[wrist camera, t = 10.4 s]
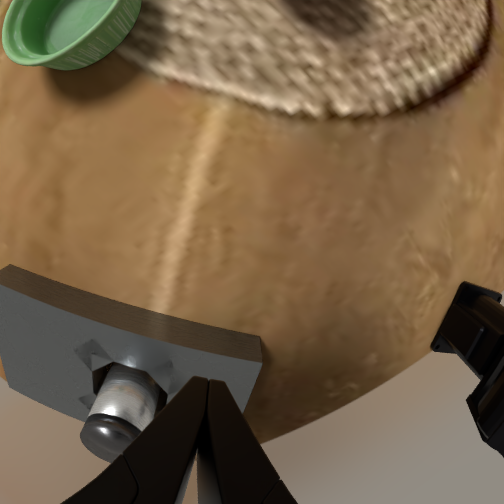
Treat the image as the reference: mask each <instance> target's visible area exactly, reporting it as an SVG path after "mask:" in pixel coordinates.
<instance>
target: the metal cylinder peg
mask: <svg viewBox="0 0 504 504" xmlns="http://www.w3.org/2000/svg"><path fill="white" fill-rule="evenodd" d="M160 390H161V386H160V385H159V384H158V383H157V382H156V381H155V380H154V379H153V378H152V377H151V376H150V375H149V374H148V373H147V371H143V370H140V369H136V368H133V367H130V366H126V365H123V364H120V363H117V362H113V364H112V366H111V368H110V370H109V372H108V374H107V376H106V379H105V381H104V383H103V385H102V387H101V389H100V391H99V393H98V395H97V398H96V400H95V402H94V404H93V406H92V408H91V411H90V413H89V415H88V417H87V420H86V422H85V424H84V427H83V429H82V431H81V433H80V438H81V441H82V443H83V444H84V446H85V447H86V448H87V449H88V450H89V451H90V452H92V453H93V454H95V455H96V456H97V457H99V458H101V459H103V460H105V461H107V462H110V463H112V462H113V461H114V460H115V459H116V458H117V457H118V456H119V455H120V454H122V452H123V451H124V450H125V449H126V448H127V447H128V446H129V445H130V443H131V442H132V441H133V440H134V439H135V438H136V437H137V436H138V435H139V434H140V433H141V432H142V431H143V430H144V429H145V428H146V426H147V425H148V424H149V423H150V422H151V421H152V420H153V417H154V413H155V409H156V405H157V402H158V398H159V394H160Z"/></svg>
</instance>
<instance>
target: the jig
mask: <svg viewBox="0 0 504 504" xmlns="http://www.w3.org/2000/svg"><path fill="white" fill-rule="evenodd" d="M0 356H1V360H2V364H3V367H4V371H5V375H6V378H7V382H8V385H9V387H10V388H12V389H14V390H16V391H17V392H19V393H21V394H23V395H25V396H27V397H29V398H31V399H33V400H35V401H37V402H39V403H41V404H43V405H45V406H48V407H50V408H52V409H54V410H57V411H59V412H61V413H63V414H66V415H68V416H71V417H73V418H76V419H78V420H81V421H83V422H86V420H87V417H88V415H89V413H90V411H91V408H92V406H93V404H94V402H95V400H96V398H97V395H98V393H99V391H100V389H101V387H102V385H103V383H104V381H105V379H106V376H107V374H108V371H107V370H106V365H107V364H109V363H111V362H113V361H114V362H117V363H120V364H123V365H126V366H130V367H133V368H136V369H140V370H143V371H147V373H148V374H149V375H150V376H151V377H152V378H153V379H154V380H155V381H156V382H157V383H158V384H159V385H160V386H161V388H162V389H163V390H164V391H161V392H160V394H159V398H158V402H157V405H156V409H155V413H154V417H153V419H154V418H155V417H156V416H157V415H158V413H159V412H160V411H161V410H162V409H163V408H164V407H165V406H166V405H167V404H168V403H169V401H170V400H171V399H172V398H173V397H174V396H175V395H176V394H177V393H178V391H179V390H180V389H181V388H182V387H183V386H184V385H185V384H186V383H187V381H188V380H189V379H190V378H191V377H192V376H200V377H205V378H207V379H208V381H209V380H210V379H215V380H221V381H224V382H225V383H226V384H227V386H228V388H229V390H230V392H231V394H232V396H233V397H234V399H235V401H236V403H237V405H238V407H239V409H240V410H241V412H242V414H243V412H244V409H245V407H246V404H247V402H248V399H249V397H250V395H251V392H252V390H253V387H254V385H255V382H256V379H257V377H258V374H259V372H260V369H261V367H262V364H263V360H262V353H261V345H260V337H259V336H255V335H250V334H245V333H240V332H235V331H231V330H226V329H222V328H217V327H213V326H209V325H204V324H200V323H196V322H192V321H188V320H184V319H180V318H176V317H172V316H168V315H164V314H161V313H157V312H153V311H149V310H146V309H142V308H139V307H135V306H132V305H128V304H125V303H121V302H118V301H115V300H111V299H108V298H105V297H102V296H98V295H95V294H92V293H89V292H86V291H83V290H80V289H77V288H74V287H71V286H68V285H65V284H62V283H59V282H56V281H54V280H51V279H48V278H45V277H42V276H40V275H37V274H34V273H32V272H29V271H26V270H24V269H21V268H19V267H16V266H13V265H11V264H9V265H8V266H6V267H5V268H3V269H1V270H0ZM196 453H197V452H196Z"/></svg>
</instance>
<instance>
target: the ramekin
mask: <svg viewBox="0 0 504 504" xmlns="http://www.w3.org/2000/svg"><path fill="white" fill-rule="evenodd" d="M141 2H142V0H13V1H12V3H11V5H10V7H9V9H8V11H7V14H6V17H5V20H4V24H3V30H2V43H3V48H4V50H5V53H6V54H7V56H8V57H9V58H10V59H11V60H12V61H13V62H15V63H17V64H20V65H24V66H44V67H49V68H53V69H58V70H75V69H80V68H83V67H86V66H88V65H91V64H93V63H95V62H97V61H98V60H100V59H102V58H103V57H105V56H106V55H107V54H109V53H110V52H111V51H112V50H113V49H115V48H116V47H117V46H118V45H119V44H120V43H121V42H122V41H123V40H124V38H125V37H126V36H127V35H128V33H129V32H130V30H131V29H132V28H133V26H134V24H135V22H136V20H137V17H138V15H139V12H140V8H141Z"/></svg>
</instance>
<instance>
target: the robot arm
mask: <svg viewBox="0 0 504 504" xmlns="http://www.w3.org/2000/svg"><path fill="white" fill-rule="evenodd" d="M501 299H502V295H501V294H500V293H499V292H496V291H493V290H490V289H487V288H484V287H481V286H478V285H475V284H472V283H469V282H466V281H464V282H463V283H462V284H461V285H460V287H459V290H458V292H457V294H456V296H455V299H454V301H453V303H452V305H451V307H450V309H449V311H448V313H447V316H446V318H445V320H444V322H443V324H442V326H441V327H440V329H439V331H438V333H437V335H436V337H435V339H434V341H433V343H432V344H431V349H432V350H433V351H434V352H442V353H455V354H457V355H458V356H459V357H460V358H461V359H462V360H463V361H464V362H465V364H466V365H467V366H468V367H469V368H470V369H471V370H472V371H473V372H474V373H475V375H476V376H477V377H478V378H479V379H480V380H481V381H480V382H479V384H478V385H477V387H476V388H475V390H474V391H473V392H472V394H470V395H469V396H468V398H467V399H466V402H467V404H468V407H469V409H470V412H471V414H472V416H473V418H474V421H475V423H476V426H477V428H478V430H479V433H480V436H481V438H482V440H483V441H484V442H485V443H487V444H488V445H489V446H490V447H492V448H493V449H495V450H497V451H498V452H499V453H500V454H501V455H502V456H503V457H504V306H502V305H501V304H500V302H501ZM196 452H197V487H198V504H298V503H297V502H296V500H295V499H294V498H293V496H292V495H291V493H290V492H289V491H288V489H287V487H286V486H285V484H284V483H283V481H282V480H279V479H280V477H279V475H278V473H277V472H276V470H275V468H274V467H273V465H272V464H271V462H270V460H269V459H268V457H267V455H266V454H265V452H264V450H263V449H262V447H261V445H260V444H259V442H258V440H257V439H256V437H255V435H254V433H253V432H252V430H251V428H250V426H249V425H248V423H247V421H246V419H245V418H244V416H243V414H242V412H241V410H240V409H239V407H238V405H237V403H236V401H235V399H234V397H233V396H232V394H231V392H230V390H229V388H228V386H227V384H226V383H225V382H224V381H221V380H215V379H210V380H209V381H208V379H207V378H205V377H200V376H192V377H191V378H190V379H189V380H188V381H187V383H186V384H185V385H184V386H183V387H182V388H181V389H180V390H179V391H178V393H177V394H176V395H175V396H174V397H173V398H172V399H171V400H170V401H169V403H168V404H167V405H166V406H165V407H164V408H163V409H162V410H161V411H160V412H159V413H158V415H157V416H156V417H155V418H154V419H153V420H152V421H151V422H150V423H149V424H148V425H147V426H146V428H145V429H144V430H143V431H142V432H141V433H140V434H139V435H138V436H137V437H136V438H135V439H134V440H133V441H132V442H131V443H130V445H129V446H128V447H127V448H126V449H125V450H124V451H123V452H122V454H120V455H119V456H118V457H117V458H116V459H115V460H114V461H113V462H112V463H111V464H110V465H109V466H108V467H107V468H106V469H105V470H104V471H103V472H102V473H101V474H99V475H98V476H97V477H96V478H95V479H94V480H92V481H91V482H90V483H89V484H87V485H86V486H85V487H83V488H82V489H81V490H79V491H78V492H76V493H75V494H74V495H72V496H71V497H69V498H68V499H66V500H65V501H63V502H62V503H60V504H182V501H183V498H184V495H185V491H186V488H187V484H188V481H189V477H190V474H191V471H192V467H193V464H194V460H195V456H196Z"/></svg>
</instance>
